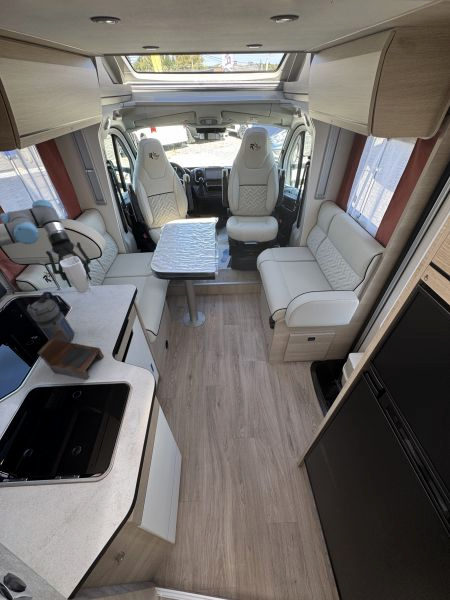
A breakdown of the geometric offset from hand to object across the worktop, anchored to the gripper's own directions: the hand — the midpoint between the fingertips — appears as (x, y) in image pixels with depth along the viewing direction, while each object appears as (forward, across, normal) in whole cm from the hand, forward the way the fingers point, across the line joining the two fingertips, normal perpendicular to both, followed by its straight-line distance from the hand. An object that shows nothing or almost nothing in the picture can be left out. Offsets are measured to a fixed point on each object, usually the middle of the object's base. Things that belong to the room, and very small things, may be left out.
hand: (80, 282), depth 111 cm
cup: (+2, 0, -6) cm, 7 cm away
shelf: (+32, +14, -4) cm, 36 cm away
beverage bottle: (+18, +17, -19) cm, 31 cm away
